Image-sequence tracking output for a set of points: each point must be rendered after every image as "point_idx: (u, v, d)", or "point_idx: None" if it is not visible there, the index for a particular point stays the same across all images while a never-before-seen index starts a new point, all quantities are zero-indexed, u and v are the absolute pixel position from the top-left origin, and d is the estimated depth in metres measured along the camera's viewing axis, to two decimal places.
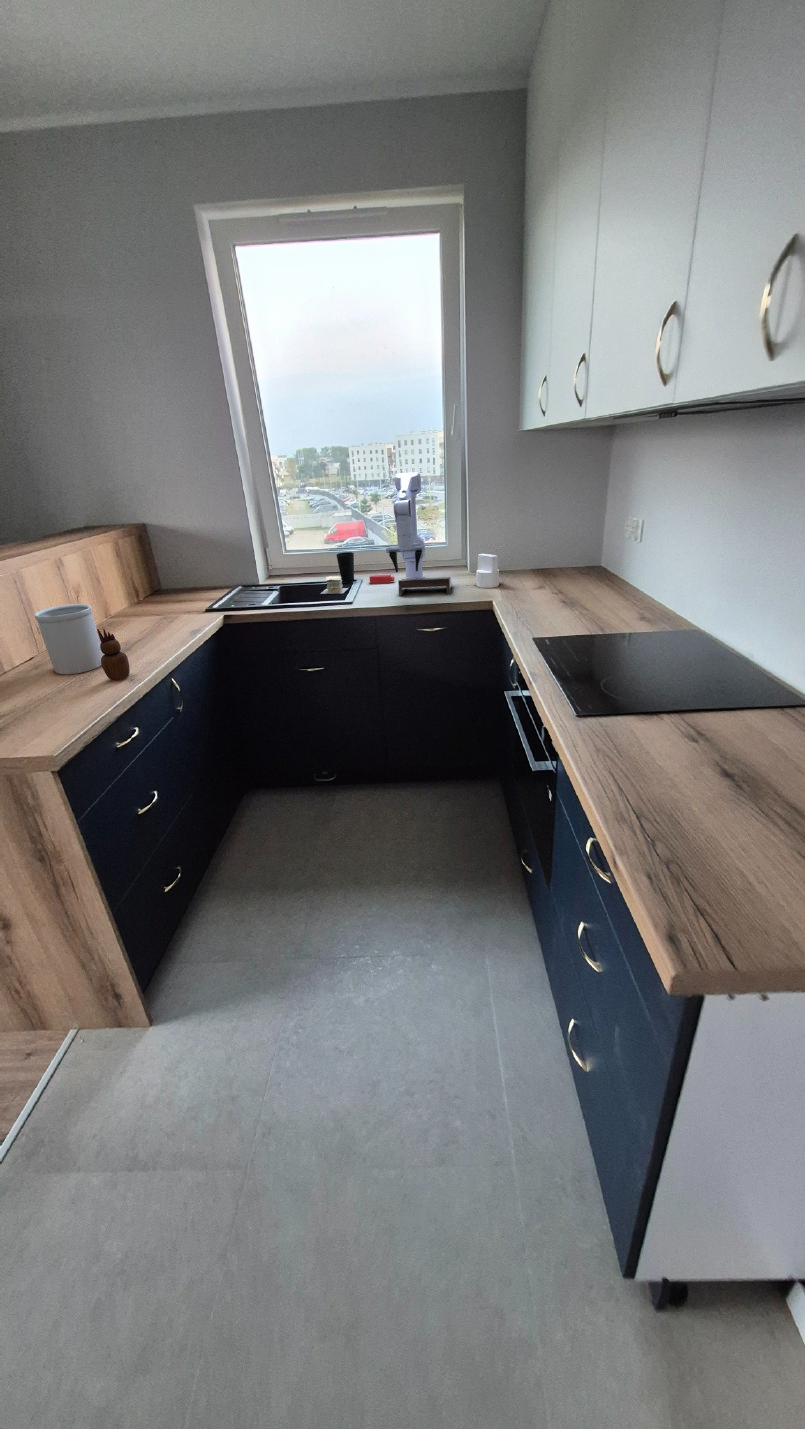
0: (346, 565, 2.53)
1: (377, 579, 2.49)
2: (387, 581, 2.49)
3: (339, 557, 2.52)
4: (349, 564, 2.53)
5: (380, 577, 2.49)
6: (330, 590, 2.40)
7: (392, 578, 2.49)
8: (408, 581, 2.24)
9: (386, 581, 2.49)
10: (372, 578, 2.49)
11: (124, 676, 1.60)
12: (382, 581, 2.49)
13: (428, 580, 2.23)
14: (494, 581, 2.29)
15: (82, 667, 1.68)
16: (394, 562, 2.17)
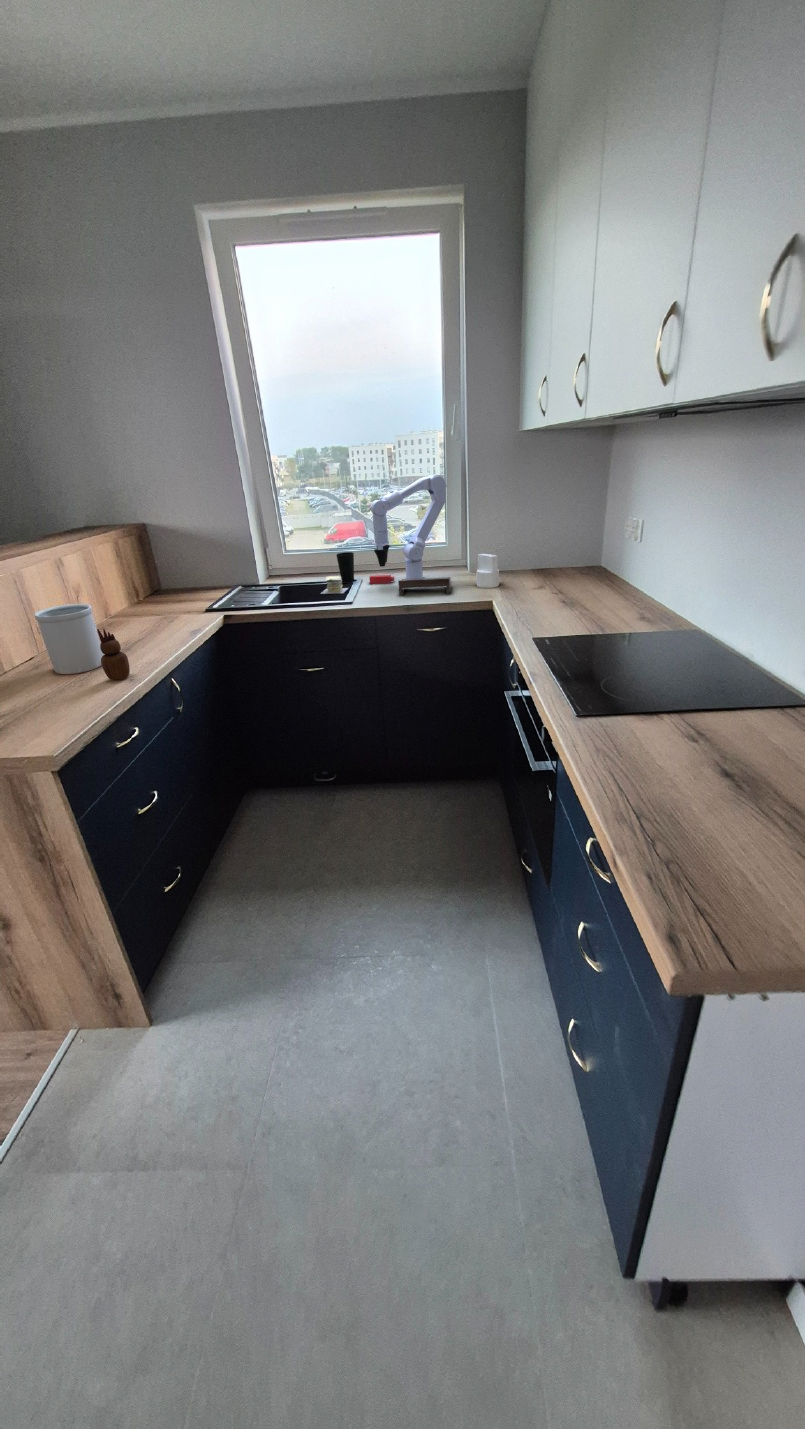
0: (346, 565, 2.53)
1: (377, 579, 2.49)
2: (387, 581, 2.49)
3: (339, 557, 2.52)
4: (349, 564, 2.53)
5: (380, 577, 2.49)
6: (330, 590, 2.40)
7: (392, 578, 2.49)
8: (408, 581, 2.24)
9: (386, 581, 2.49)
10: (372, 578, 2.49)
11: (124, 676, 1.60)
12: (382, 581, 2.49)
13: (428, 580, 2.23)
14: (494, 581, 2.29)
15: (82, 667, 1.68)
16: None
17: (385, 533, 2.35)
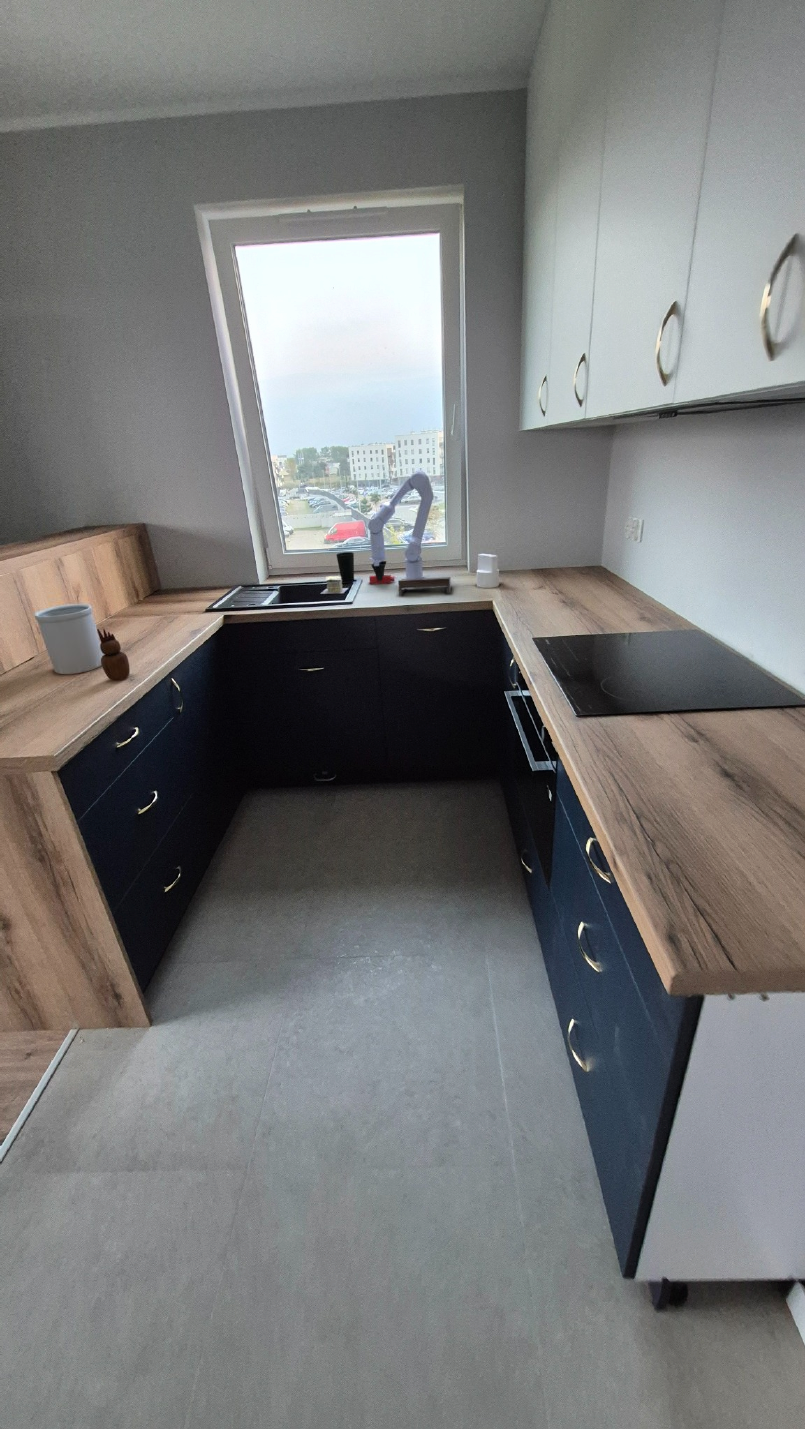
0: (346, 565, 2.53)
1: None
2: (387, 581, 2.49)
3: (339, 557, 2.52)
4: (349, 564, 2.53)
5: None
6: (330, 590, 2.40)
7: (392, 578, 2.49)
8: (408, 581, 2.24)
9: (386, 581, 2.49)
10: (372, 578, 2.49)
11: (124, 676, 1.60)
12: (382, 581, 2.49)
13: (428, 580, 2.23)
14: (494, 581, 2.29)
15: (82, 667, 1.68)
16: None
17: (382, 549, 2.43)
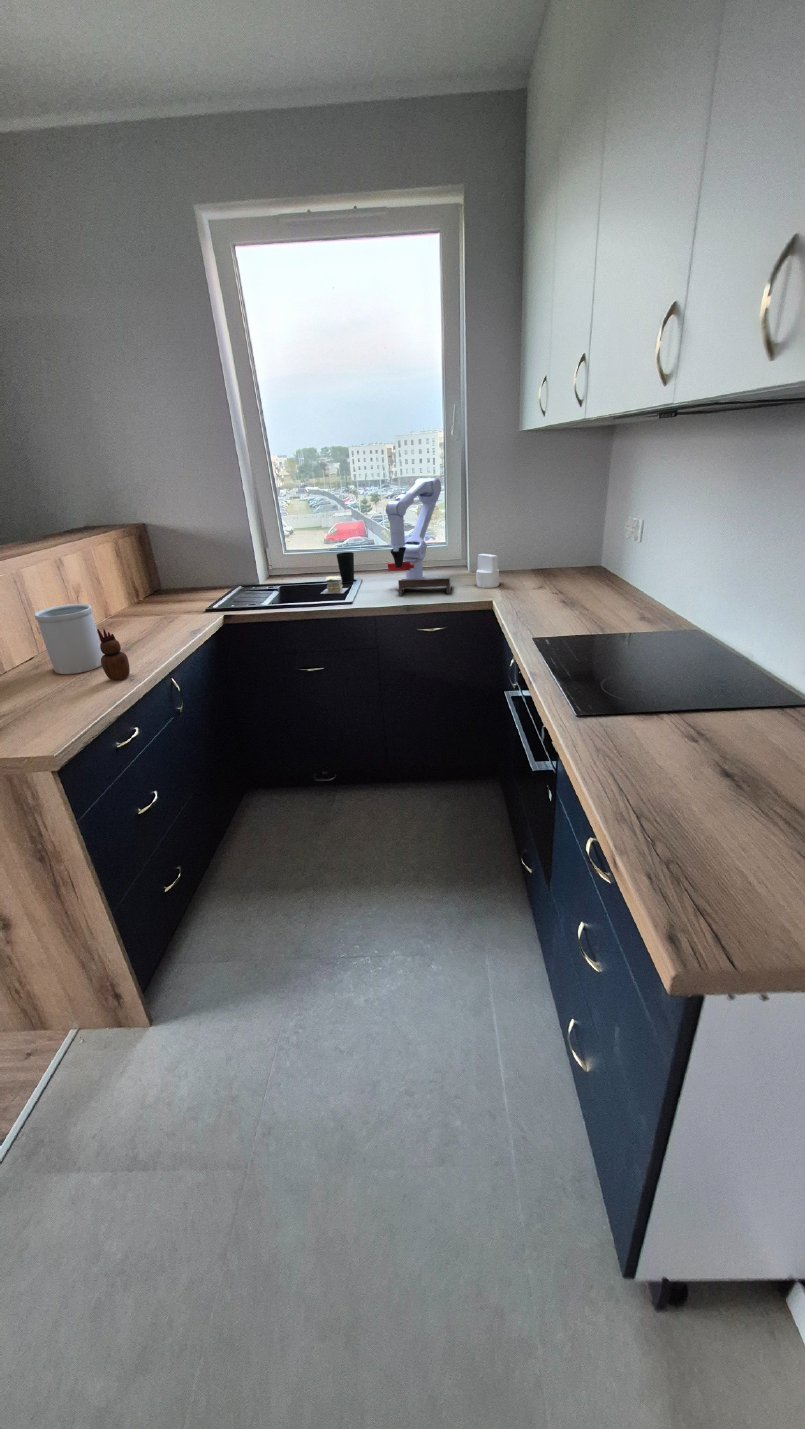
0: (346, 565, 2.53)
1: None
2: (406, 568, 2.36)
3: (339, 557, 2.52)
4: (349, 564, 2.53)
5: None
6: (330, 590, 2.40)
7: (412, 565, 2.36)
8: (408, 581, 2.24)
9: (405, 568, 2.36)
10: (390, 565, 2.37)
11: (124, 676, 1.60)
12: (401, 568, 2.37)
13: (428, 580, 2.23)
14: (494, 581, 2.29)
15: (82, 667, 1.68)
16: None
17: (401, 534, 2.31)
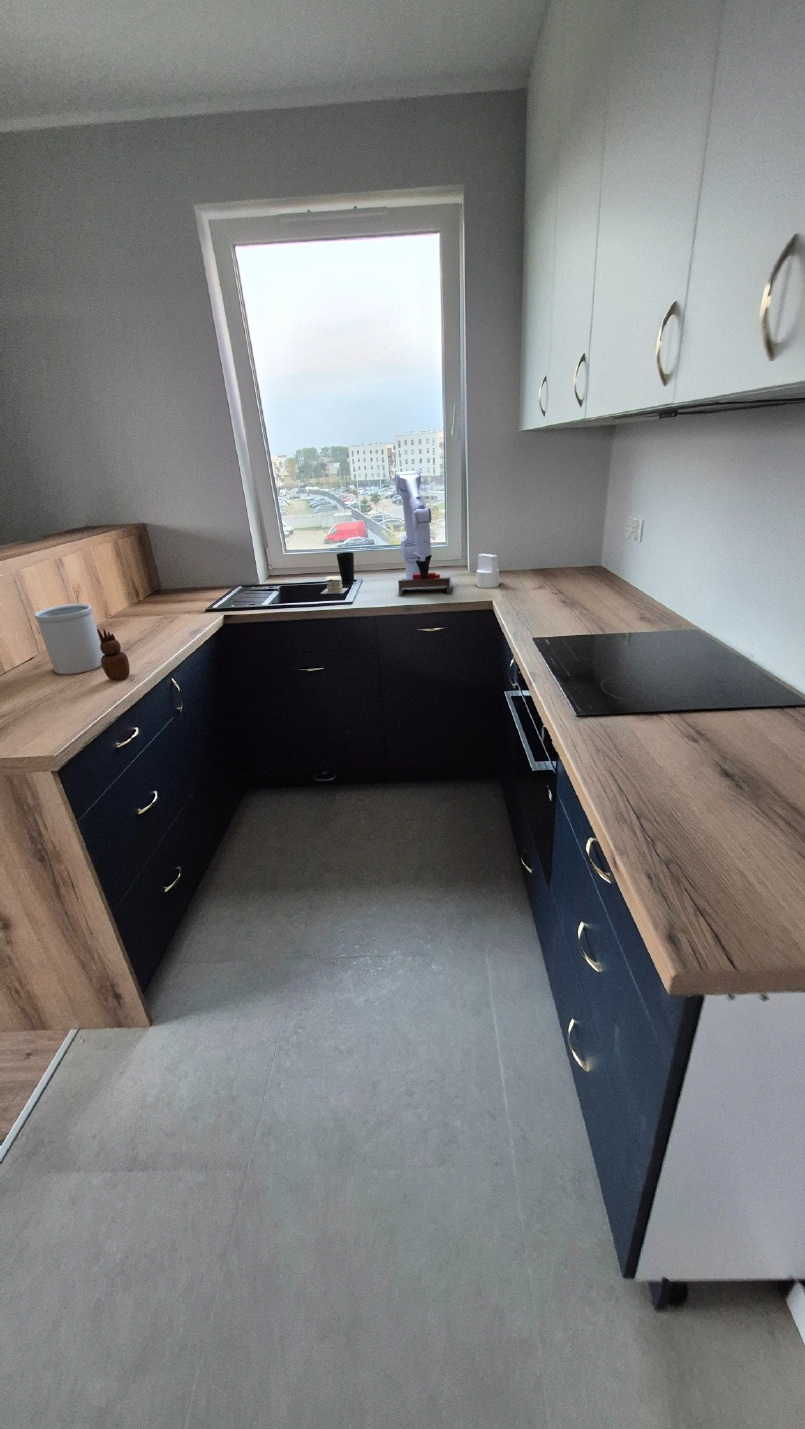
0: (346, 565, 2.53)
1: None
2: None
3: (339, 557, 2.52)
4: (349, 564, 2.53)
5: None
6: (330, 590, 2.40)
7: (438, 576, 2.27)
8: (408, 581, 2.24)
9: None
10: (416, 576, 2.28)
11: (124, 676, 1.60)
12: None
13: (428, 580, 2.23)
14: (494, 581, 2.29)
15: (82, 667, 1.68)
16: None
17: (428, 543, 2.21)
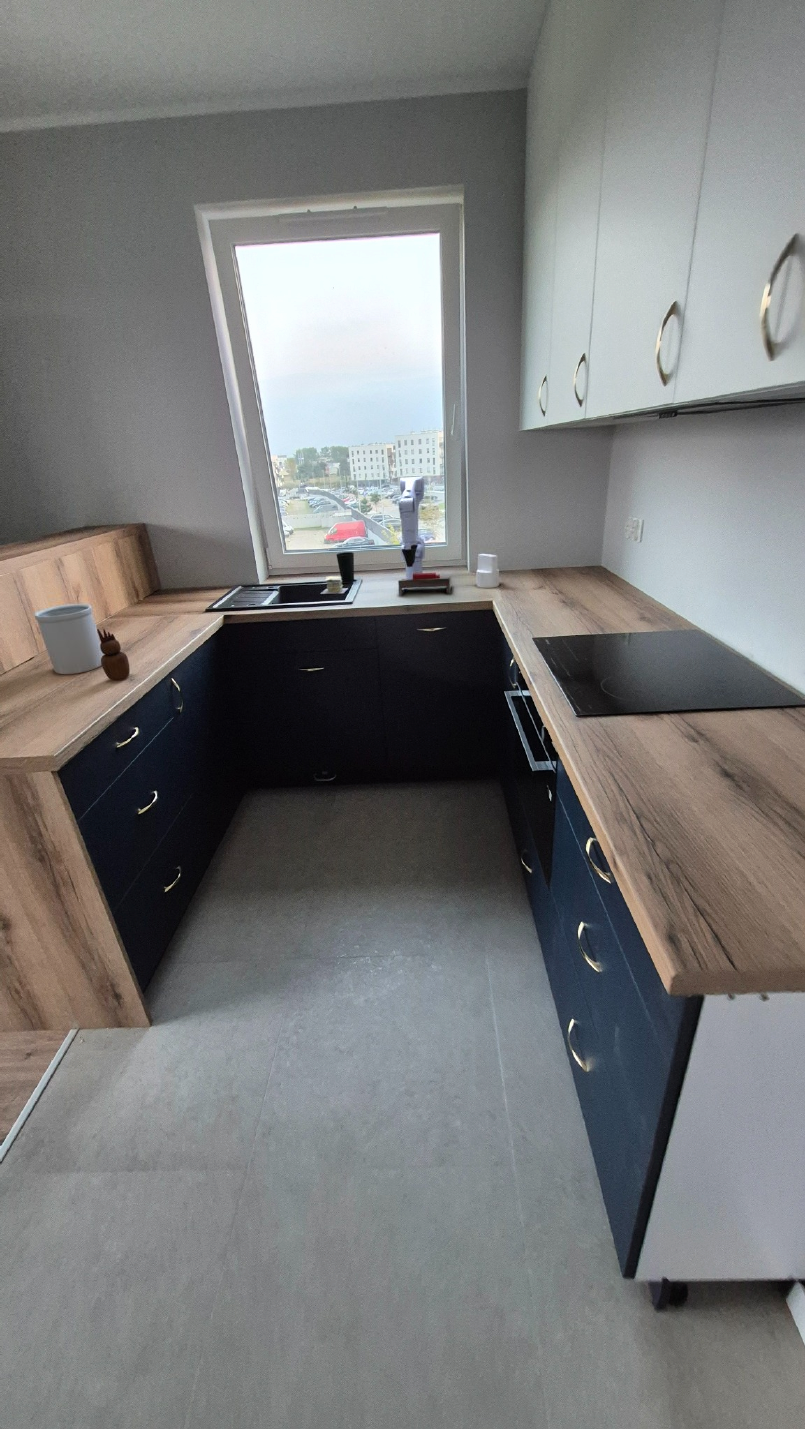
0: (346, 565, 2.53)
1: (421, 577, 2.28)
2: None
3: (339, 557, 2.52)
4: (349, 564, 2.53)
5: (425, 575, 2.27)
6: (330, 590, 2.40)
7: (438, 576, 2.27)
8: (408, 581, 2.24)
9: None
10: (416, 576, 2.28)
11: (124, 676, 1.60)
12: None
13: (428, 580, 2.23)
14: (494, 581, 2.29)
15: (82, 667, 1.68)
16: None
17: (413, 532, 2.27)
